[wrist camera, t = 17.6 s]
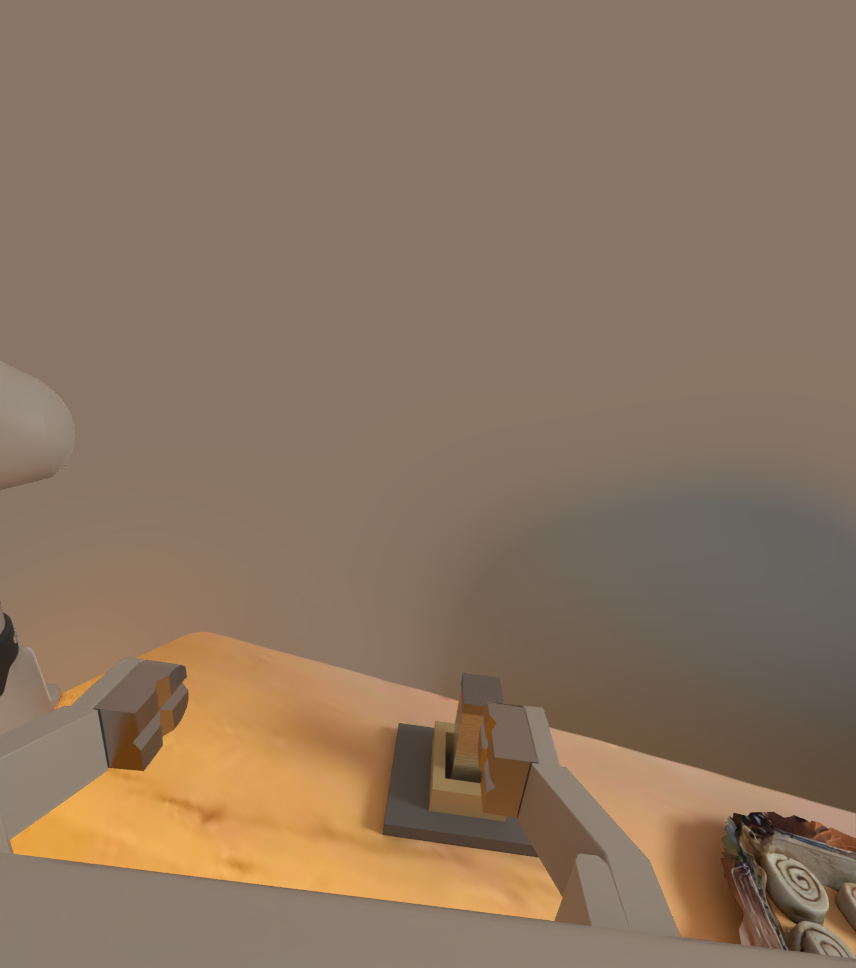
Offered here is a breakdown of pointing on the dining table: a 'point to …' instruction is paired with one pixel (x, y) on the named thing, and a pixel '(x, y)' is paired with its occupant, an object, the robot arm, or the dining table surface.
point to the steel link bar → (471, 725)
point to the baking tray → (789, 880)
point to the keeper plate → (442, 798)
